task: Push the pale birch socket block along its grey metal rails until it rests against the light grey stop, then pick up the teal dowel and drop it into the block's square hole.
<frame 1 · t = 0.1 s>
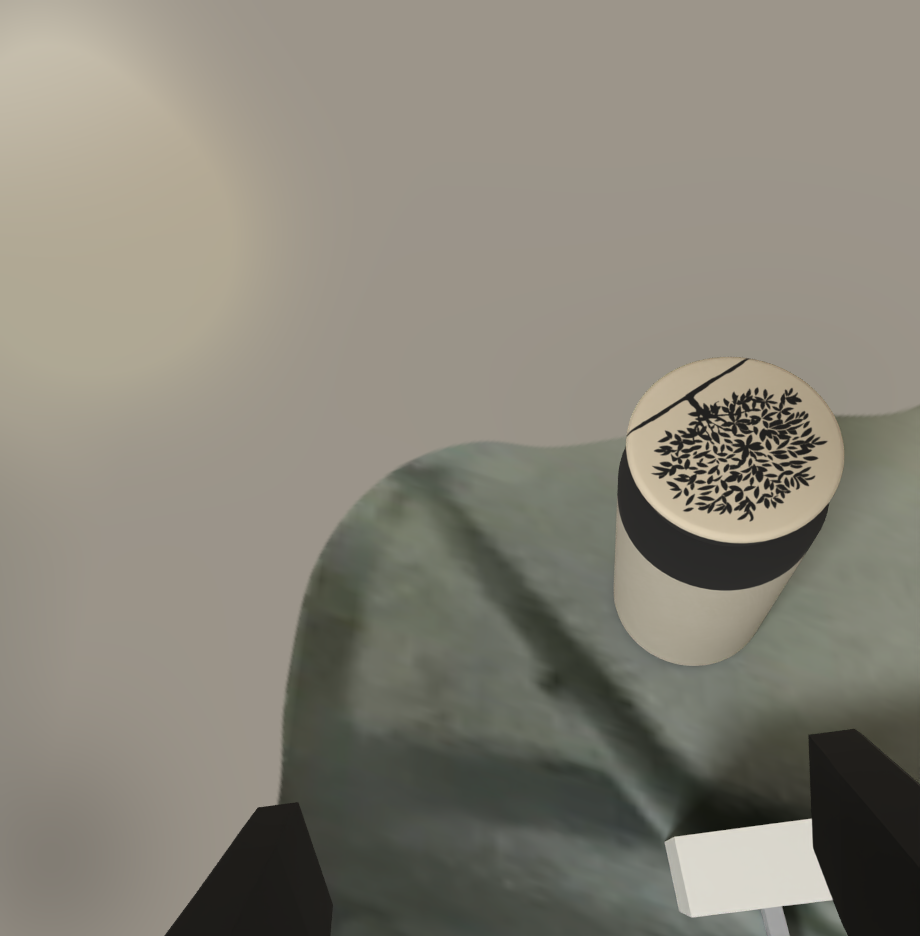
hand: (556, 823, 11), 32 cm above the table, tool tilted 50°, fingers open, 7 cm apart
grey stop: (907, 845, 38), on the table
travel mug: (686, 596, 45), on the table
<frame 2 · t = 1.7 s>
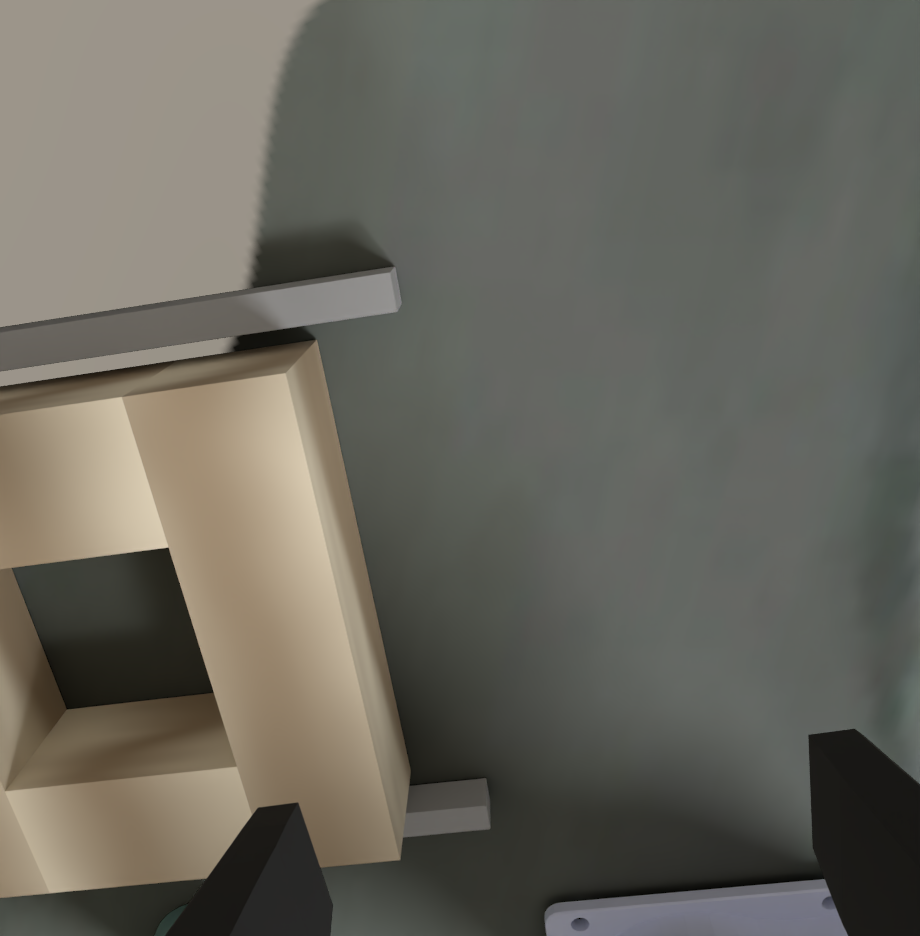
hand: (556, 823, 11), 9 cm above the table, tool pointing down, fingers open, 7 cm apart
socket block: (110, 639, 19), point 2 cm above the table, slide at 0.0 cm
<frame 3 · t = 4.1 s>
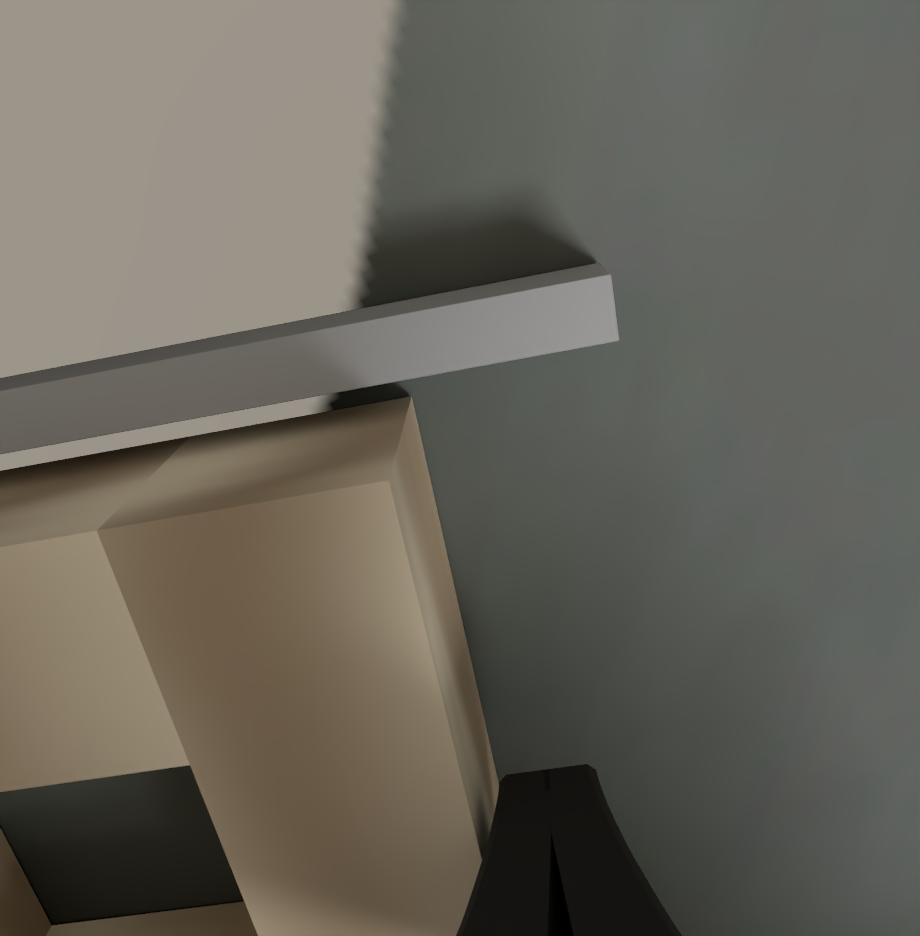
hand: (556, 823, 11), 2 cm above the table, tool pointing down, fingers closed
socket block: (106, 862, 12), point 1 cm above the table, slide at 0.8 cm, touching gripper
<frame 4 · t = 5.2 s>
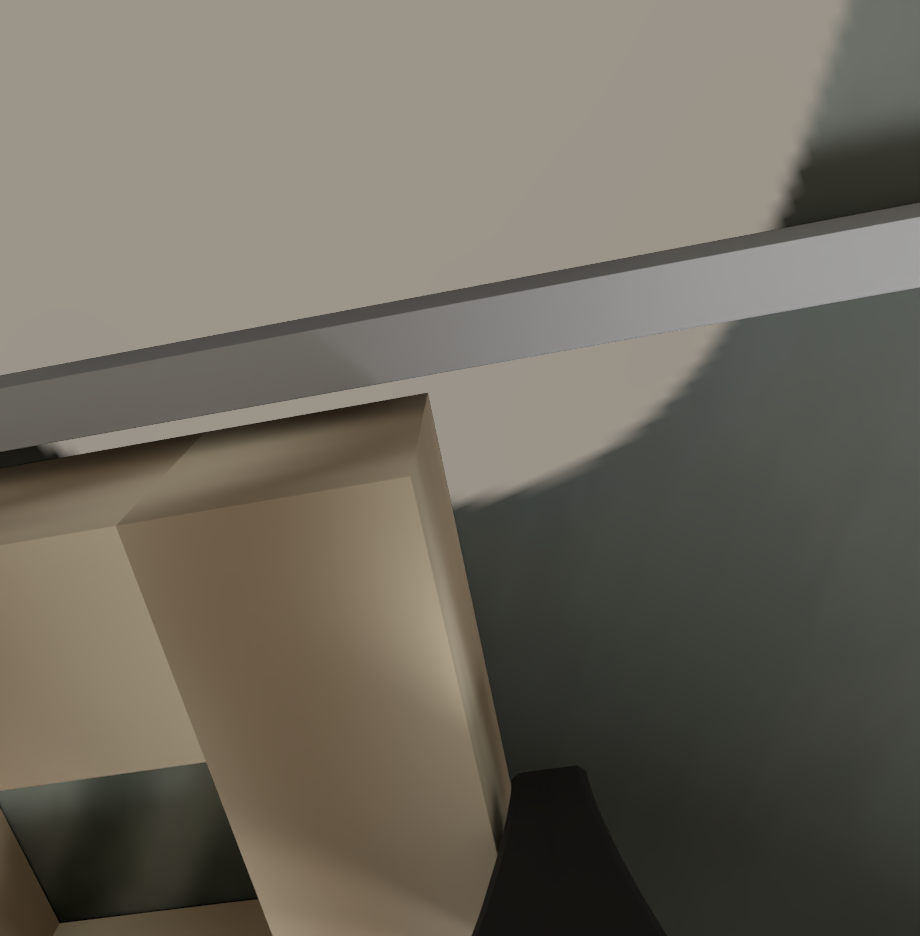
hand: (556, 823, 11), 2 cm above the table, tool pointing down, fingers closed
socket block: (117, 860, 12), point 2 cm above the table, slide at 6.0 cm, touching grey stop, gripper
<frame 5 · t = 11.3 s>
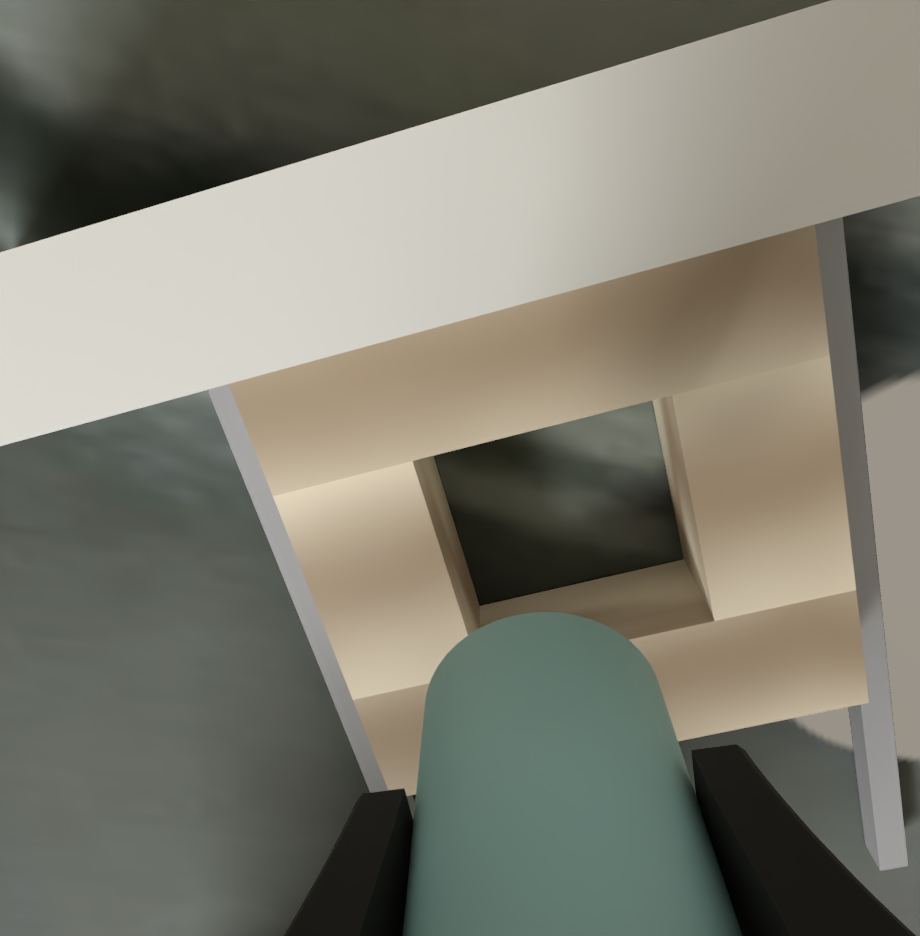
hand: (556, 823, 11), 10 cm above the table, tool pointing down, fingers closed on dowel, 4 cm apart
grey stop: (481, 194, 18), on the table
socket block: (562, 515, 19), point 1 cm above the table, slide at 6.0 cm, touching grey stop
dowel: (542, 714, 14), point 8 cm above the table, touching gripper
when the fingers open (4 cm above the table, at t = 13.3 s): dowel drops 2 cm, resting in socket block.
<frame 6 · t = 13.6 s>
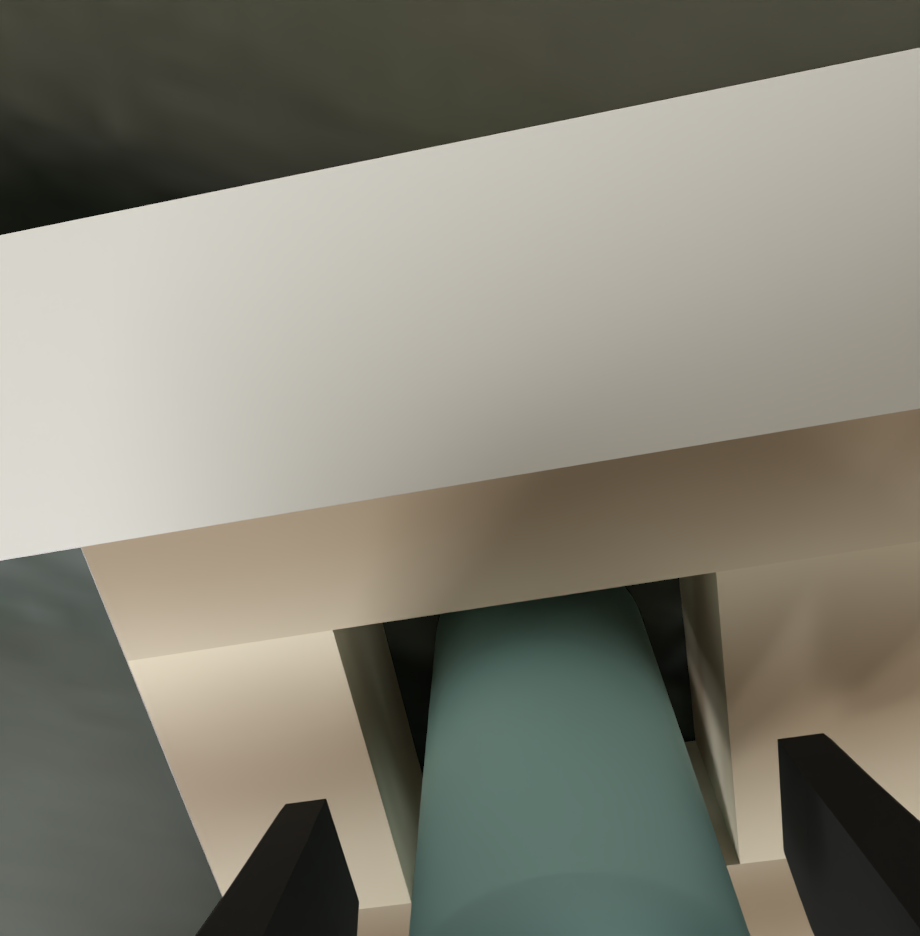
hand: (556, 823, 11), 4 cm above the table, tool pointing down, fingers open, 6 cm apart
grey stop: (464, 247, 13), on the table
socket block: (541, 693, 14), point 2 cm above the table, slide at 6.0 cm, touching grey stop
dowel: (539, 644, 16), resting in socket block
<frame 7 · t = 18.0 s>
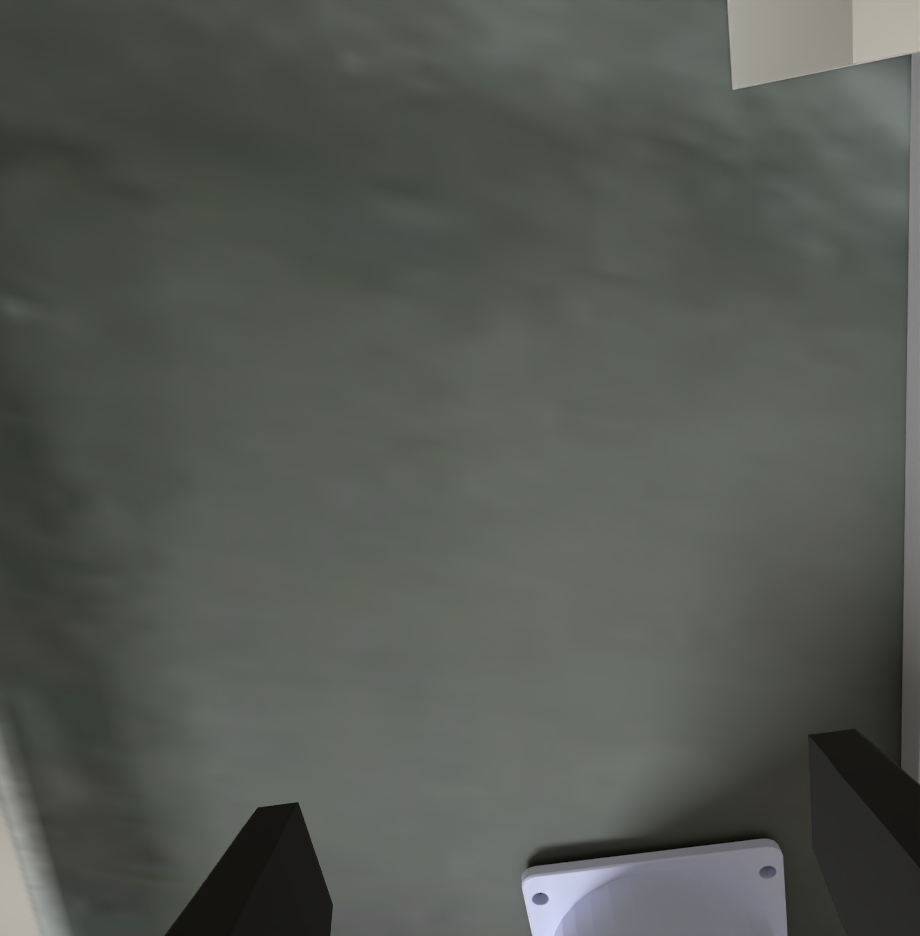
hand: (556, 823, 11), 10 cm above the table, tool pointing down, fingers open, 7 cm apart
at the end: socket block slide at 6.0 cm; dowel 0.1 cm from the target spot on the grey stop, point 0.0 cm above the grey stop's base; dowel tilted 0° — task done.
